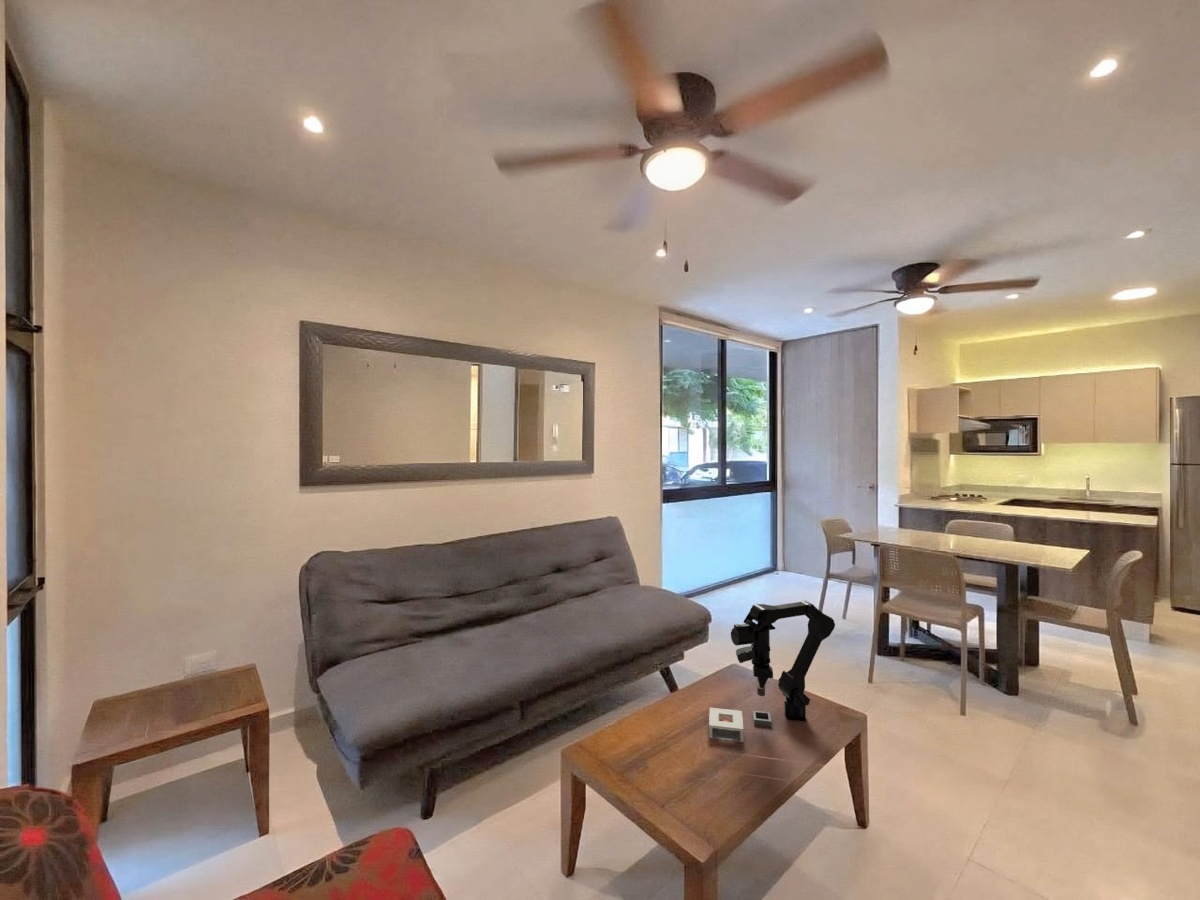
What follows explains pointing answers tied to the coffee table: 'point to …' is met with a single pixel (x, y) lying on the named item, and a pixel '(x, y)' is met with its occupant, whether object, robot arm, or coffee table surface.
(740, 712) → the breaker box
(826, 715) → the coffee table surface
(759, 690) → the beige rounded rod
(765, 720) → the holder
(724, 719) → the breaker button
